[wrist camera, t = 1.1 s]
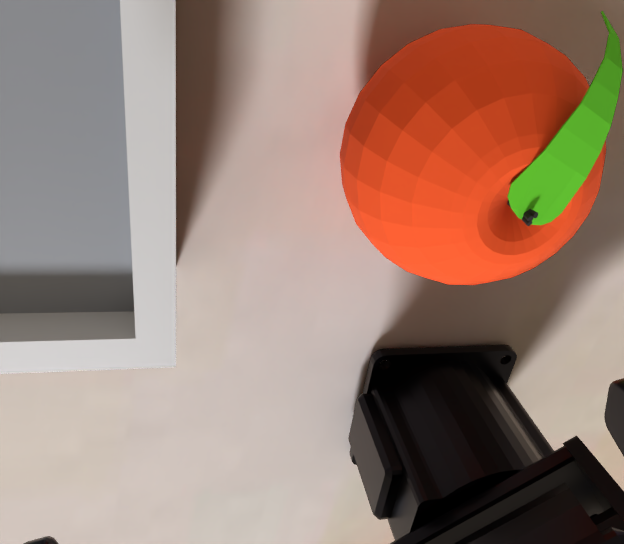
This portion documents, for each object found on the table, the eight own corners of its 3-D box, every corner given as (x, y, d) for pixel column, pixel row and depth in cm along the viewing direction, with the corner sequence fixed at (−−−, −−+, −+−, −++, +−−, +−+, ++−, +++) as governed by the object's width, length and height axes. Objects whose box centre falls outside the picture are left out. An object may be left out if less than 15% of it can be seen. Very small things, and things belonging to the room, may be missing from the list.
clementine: (421, -83, 15) (571, -81, 10) (583, 49, 18) (775, 112, 12) (277, 166, 18) (324, 285, 12) (436, 245, 21) (536, 372, 15)
